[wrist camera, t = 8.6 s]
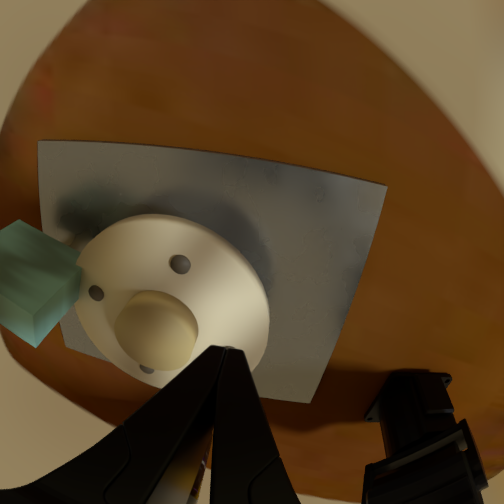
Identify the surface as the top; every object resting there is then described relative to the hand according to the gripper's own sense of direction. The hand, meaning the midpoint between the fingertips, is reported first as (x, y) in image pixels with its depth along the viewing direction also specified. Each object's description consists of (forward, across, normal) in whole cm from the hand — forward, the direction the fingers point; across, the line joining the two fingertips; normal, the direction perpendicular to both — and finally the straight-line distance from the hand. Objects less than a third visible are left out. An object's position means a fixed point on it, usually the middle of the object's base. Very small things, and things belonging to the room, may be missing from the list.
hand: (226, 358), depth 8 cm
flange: (+9, +7, +5) cm, 12 cm away
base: (+12, +5, +6) cm, 14 cm away
